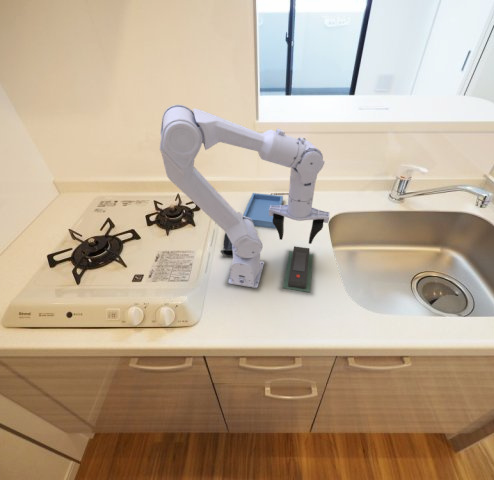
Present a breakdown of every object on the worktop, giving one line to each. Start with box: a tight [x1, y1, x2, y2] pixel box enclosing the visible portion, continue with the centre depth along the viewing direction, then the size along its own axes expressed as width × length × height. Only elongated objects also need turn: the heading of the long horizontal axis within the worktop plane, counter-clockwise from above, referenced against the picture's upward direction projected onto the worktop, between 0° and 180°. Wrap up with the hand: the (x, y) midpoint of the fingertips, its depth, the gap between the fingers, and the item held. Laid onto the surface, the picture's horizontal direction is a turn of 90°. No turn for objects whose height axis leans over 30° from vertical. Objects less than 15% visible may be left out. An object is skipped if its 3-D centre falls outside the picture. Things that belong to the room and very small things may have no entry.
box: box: [242, 192, 284, 229], centre depth 93 cm, size 17×12×2 cm
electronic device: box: [220, 232, 233, 258], centre depth 81 cm, size 9×6×15 cm
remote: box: [288, 245, 310, 289], centre depth 71 cm, size 13×4×3 cm, turn 168°
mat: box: [282, 250, 314, 293], centre depth 72 cm, size 14×7×1 cm, turn 168°
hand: (295, 239), depth 69 cm, fingers open, 7 cm apart
